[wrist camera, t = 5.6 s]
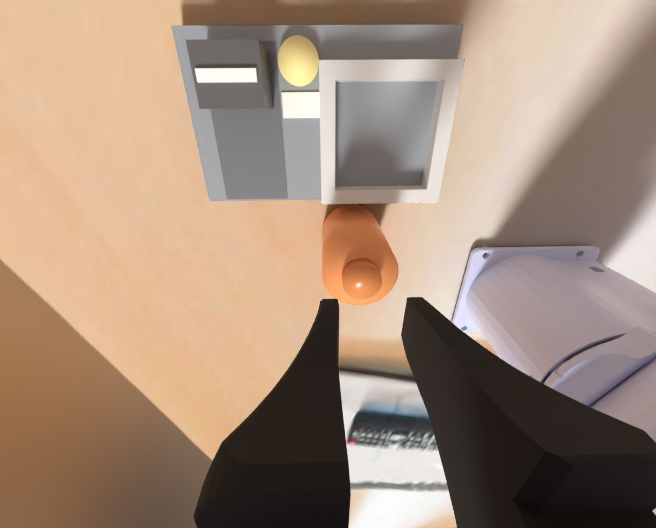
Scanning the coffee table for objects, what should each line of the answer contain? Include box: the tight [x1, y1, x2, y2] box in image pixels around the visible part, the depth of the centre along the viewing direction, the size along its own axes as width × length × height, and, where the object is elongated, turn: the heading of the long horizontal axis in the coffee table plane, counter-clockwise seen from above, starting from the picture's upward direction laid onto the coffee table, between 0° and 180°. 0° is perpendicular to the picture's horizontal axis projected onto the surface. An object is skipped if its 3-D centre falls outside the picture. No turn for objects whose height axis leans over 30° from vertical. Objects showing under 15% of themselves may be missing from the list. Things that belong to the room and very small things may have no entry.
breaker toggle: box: [186, 39, 273, 109], centre depth 13 cm, size 3×2×3 cm
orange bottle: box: [322, 204, 398, 305], centre depth 17 cm, size 4×4×7 cm
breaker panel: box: [172, 24, 465, 204], centre depth 15 cm, size 14×8×2 cm, turn 90°
